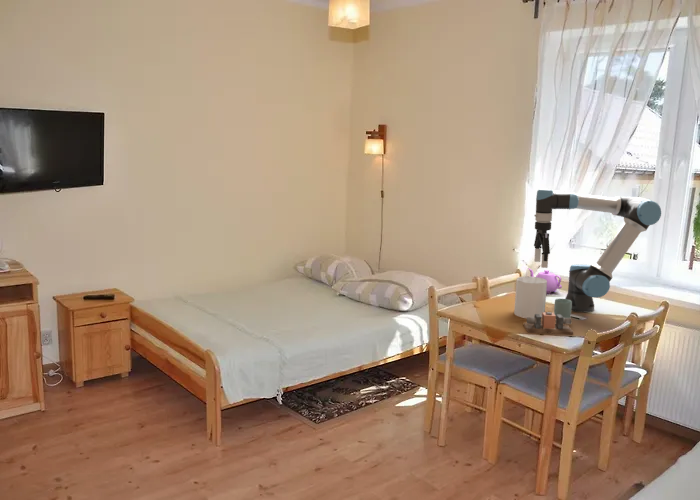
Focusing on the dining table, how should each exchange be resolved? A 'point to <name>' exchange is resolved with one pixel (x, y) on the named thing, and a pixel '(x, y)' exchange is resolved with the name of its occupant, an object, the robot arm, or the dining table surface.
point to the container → (530, 296)
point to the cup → (563, 307)
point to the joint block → (548, 320)
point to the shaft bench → (560, 328)
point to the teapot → (549, 280)
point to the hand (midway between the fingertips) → (540, 264)
